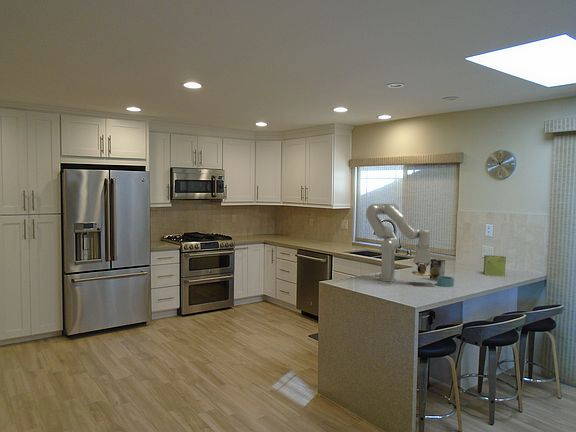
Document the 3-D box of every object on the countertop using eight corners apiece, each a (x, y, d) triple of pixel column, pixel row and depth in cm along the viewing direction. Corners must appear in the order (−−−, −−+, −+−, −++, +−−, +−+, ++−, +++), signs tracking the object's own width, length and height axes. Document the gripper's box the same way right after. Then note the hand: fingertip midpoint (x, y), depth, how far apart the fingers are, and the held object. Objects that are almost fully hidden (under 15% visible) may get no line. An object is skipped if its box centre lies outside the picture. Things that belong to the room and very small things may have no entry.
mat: (414, 287, 308) (414, 286, 308) (409, 282, 323) (409, 281, 323) (435, 287, 307) (435, 287, 307) (430, 283, 322) (430, 282, 322)
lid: (414, 275, 309) (414, 265, 309) (410, 271, 322) (411, 262, 322) (432, 276, 308) (433, 267, 308) (428, 272, 321) (429, 263, 321)
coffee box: (429, 280, 334) (430, 259, 333) (433, 279, 338) (434, 258, 337) (440, 282, 327) (440, 260, 326) (444, 281, 331) (445, 260, 330)
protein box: (505, 276, 353) (506, 257, 352) (484, 275, 358) (485, 256, 357) (503, 274, 362) (504, 256, 362) (483, 273, 367) (484, 254, 367)
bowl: (439, 287, 309) (439, 278, 308) (435, 284, 320) (435, 275, 319) (455, 287, 308) (455, 279, 307) (450, 284, 319) (451, 276, 318)
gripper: (412, 246, 311) (411, 272, 312) (436, 248, 309) (434, 273, 311) (410, 245, 318) (409, 270, 320) (433, 246, 317) (431, 271, 318)
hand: (421, 271), depth 315 cm, fingers closed on lid, 3 cm apart
